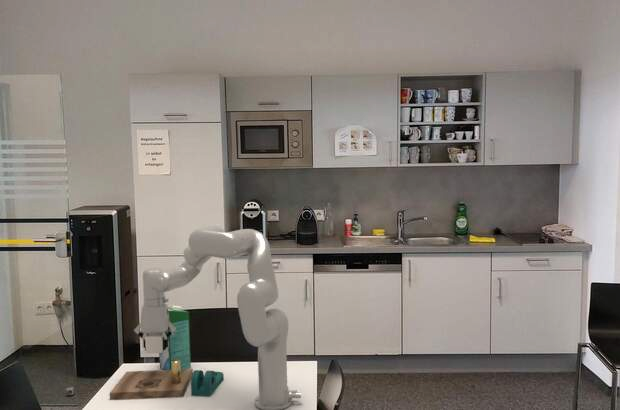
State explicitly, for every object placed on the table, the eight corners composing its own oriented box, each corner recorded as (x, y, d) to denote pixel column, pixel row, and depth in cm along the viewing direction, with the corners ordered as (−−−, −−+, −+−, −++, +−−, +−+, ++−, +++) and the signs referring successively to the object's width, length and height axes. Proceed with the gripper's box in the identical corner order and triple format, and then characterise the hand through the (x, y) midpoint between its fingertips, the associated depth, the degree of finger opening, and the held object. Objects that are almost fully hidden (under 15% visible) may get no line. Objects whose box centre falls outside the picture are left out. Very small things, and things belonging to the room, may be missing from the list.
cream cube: (162, 352, 201) (161, 336, 200) (145, 353, 201) (145, 337, 200) (165, 347, 207) (165, 332, 206) (149, 347, 207) (149, 332, 206)
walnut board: (192, 375, 209) (192, 369, 209) (183, 397, 189) (182, 390, 189) (126, 378, 208) (126, 371, 208) (110, 399, 188) (109, 392, 188)
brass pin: (181, 380, 197) (180, 359, 197) (180, 384, 194) (179, 362, 194) (173, 381, 197) (172, 359, 196) (171, 384, 194) (170, 362, 194)
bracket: (209, 397, 189) (209, 375, 188) (191, 396, 190) (190, 374, 189) (226, 377, 207) (225, 357, 206) (209, 377, 208) (208, 356, 207)
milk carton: (191, 367, 217) (188, 306, 216) (170, 373, 211) (167, 310, 210) (179, 362, 224) (177, 302, 222) (159, 368, 218) (157, 306, 216)
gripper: (179, 298, 207) (181, 345, 208) (133, 299, 206) (135, 346, 207) (175, 303, 199) (177, 352, 200) (127, 304, 198) (129, 353, 200)
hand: (155, 348), depth 204 cm, fingers closed on cream cube, 6 cm apart
